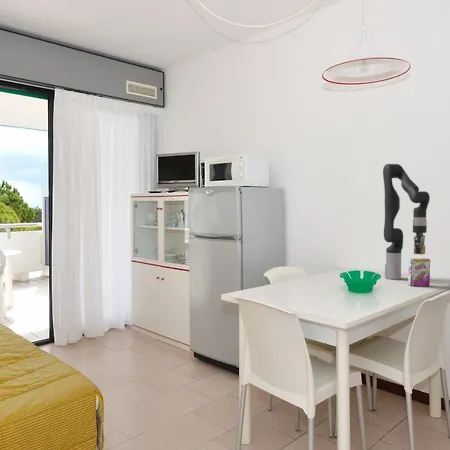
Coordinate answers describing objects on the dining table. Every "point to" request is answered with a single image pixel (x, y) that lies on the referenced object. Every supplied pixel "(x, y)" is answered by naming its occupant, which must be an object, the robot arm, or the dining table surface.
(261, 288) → the dining table surface
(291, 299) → the dining table surface
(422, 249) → the walnut cube
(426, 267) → the candy bar box
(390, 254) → the robot arm
